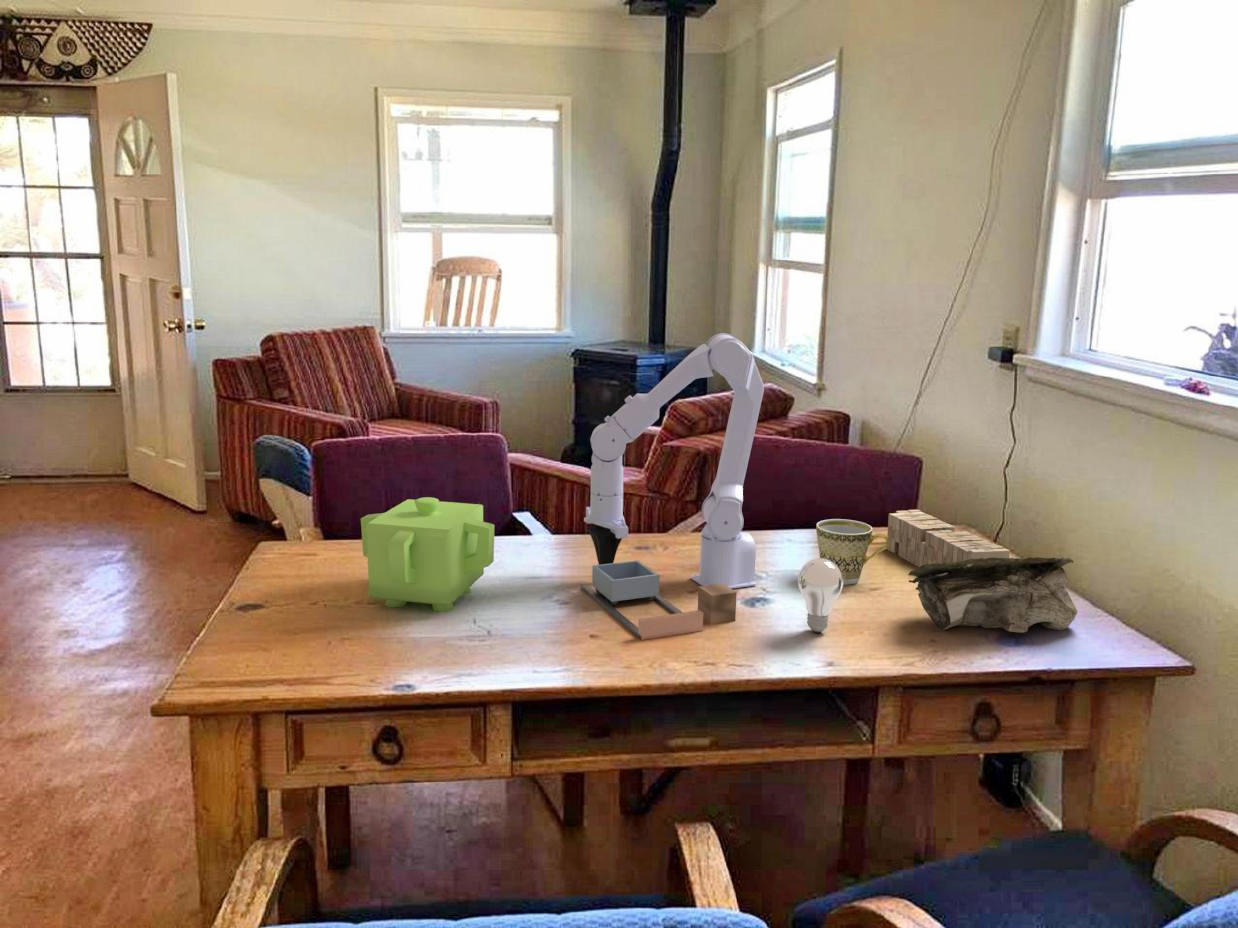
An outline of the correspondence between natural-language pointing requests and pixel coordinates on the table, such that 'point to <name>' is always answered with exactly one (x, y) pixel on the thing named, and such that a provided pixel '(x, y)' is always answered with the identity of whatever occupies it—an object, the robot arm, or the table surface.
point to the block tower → (935, 540)
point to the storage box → (426, 551)
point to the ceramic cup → (846, 545)
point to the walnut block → (717, 603)
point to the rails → (655, 619)
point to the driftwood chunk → (997, 593)
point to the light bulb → (819, 590)
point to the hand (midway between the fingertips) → (605, 566)
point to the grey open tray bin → (625, 581)
